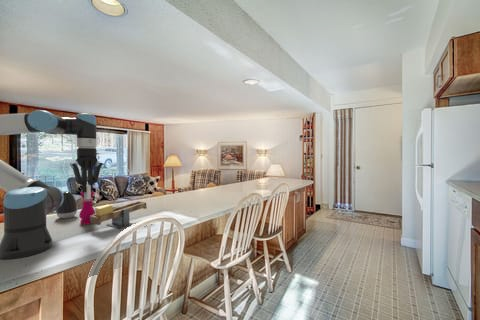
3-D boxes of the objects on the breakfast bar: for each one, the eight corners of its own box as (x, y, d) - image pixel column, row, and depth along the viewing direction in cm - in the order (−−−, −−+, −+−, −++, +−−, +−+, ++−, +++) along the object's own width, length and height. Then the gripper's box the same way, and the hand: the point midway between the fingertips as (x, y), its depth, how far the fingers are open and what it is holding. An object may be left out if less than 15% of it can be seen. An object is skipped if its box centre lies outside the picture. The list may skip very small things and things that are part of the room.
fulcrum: (119, 229, 110) (119, 211, 110) (106, 225, 116) (106, 208, 116) (134, 224, 117) (134, 207, 117) (121, 221, 123) (121, 205, 123)
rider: (100, 218, 106) (99, 208, 106) (96, 216, 108) (95, 207, 108) (113, 213, 111) (112, 205, 111) (108, 212, 113) (107, 204, 113)
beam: (98, 225, 104) (97, 217, 104) (90, 222, 108) (89, 215, 107) (146, 208, 126) (146, 202, 126) (138, 206, 130) (138, 200, 129)
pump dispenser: (58, 216, 133) (58, 191, 133) (79, 214, 138) (79, 190, 137) (52, 220, 124) (52, 193, 124) (75, 218, 128) (75, 192, 128)
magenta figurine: (82, 225, 115) (82, 187, 115) (77, 223, 120) (77, 186, 120) (97, 222, 121) (97, 185, 121) (92, 220, 126) (92, 184, 125)
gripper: (74, 147, 95) (75, 202, 95) (106, 148, 106) (106, 197, 107) (66, 147, 99) (67, 200, 99) (97, 148, 110) (98, 196, 110)
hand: (87, 198), depth 103 cm, fingers closed
